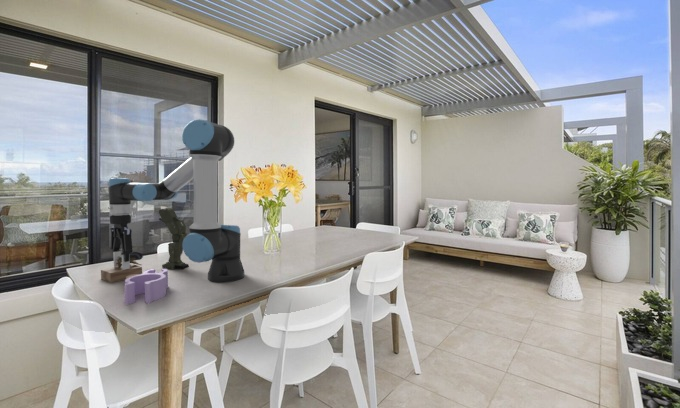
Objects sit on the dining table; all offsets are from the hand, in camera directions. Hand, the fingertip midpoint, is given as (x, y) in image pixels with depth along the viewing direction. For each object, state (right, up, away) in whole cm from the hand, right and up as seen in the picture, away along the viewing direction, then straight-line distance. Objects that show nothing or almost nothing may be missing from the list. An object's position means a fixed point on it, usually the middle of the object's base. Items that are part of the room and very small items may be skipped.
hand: (121, 267), depth 137 cm
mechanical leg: (+13, -4, +18) cm, 23 cm away
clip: (+23, -6, -19) cm, 31 cm away
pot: (+14, -5, -14) cm, 20 cm away
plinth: (0, -4, 0) cm, 4 cm away
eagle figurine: (+2, 0, +2) cm, 3 cm away
